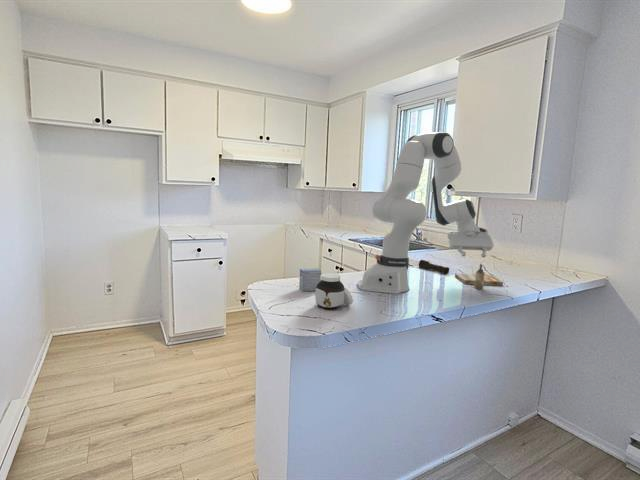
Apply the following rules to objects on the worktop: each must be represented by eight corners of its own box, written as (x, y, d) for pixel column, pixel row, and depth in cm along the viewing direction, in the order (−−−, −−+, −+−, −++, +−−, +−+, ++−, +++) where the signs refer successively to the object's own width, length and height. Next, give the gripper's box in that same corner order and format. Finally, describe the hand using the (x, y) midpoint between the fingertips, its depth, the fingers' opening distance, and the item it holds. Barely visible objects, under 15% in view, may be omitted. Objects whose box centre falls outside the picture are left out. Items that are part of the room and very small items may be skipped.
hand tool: (449, 274, 190) (450, 265, 189) (444, 275, 187) (445, 266, 187) (422, 266, 205) (422, 258, 205) (417, 267, 203) (417, 259, 203)
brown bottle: (476, 289, 162) (478, 265, 161) (472, 286, 166) (475, 263, 164) (484, 289, 162) (486, 265, 161) (480, 287, 166) (483, 263, 164)
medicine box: (316, 287, 154) (317, 267, 153) (320, 290, 150) (321, 270, 149) (298, 288, 151) (299, 268, 150) (302, 292, 147) (303, 271, 146)
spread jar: (311, 306, 130) (313, 275, 129) (328, 299, 140) (330, 269, 138) (340, 314, 124) (342, 281, 122) (356, 305, 133) (358, 275, 131)
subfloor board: (464, 283, 171) (464, 279, 170) (454, 276, 184) (455, 273, 183) (502, 285, 170) (503, 281, 170) (490, 278, 183) (491, 274, 183)
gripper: (448, 228, 177) (453, 251, 168) (491, 229, 176) (498, 253, 168) (445, 235, 182) (449, 258, 174) (486, 237, 181) (492, 260, 173)
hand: (473, 256), depth 171 cm, fingers open, 8 cm apart
